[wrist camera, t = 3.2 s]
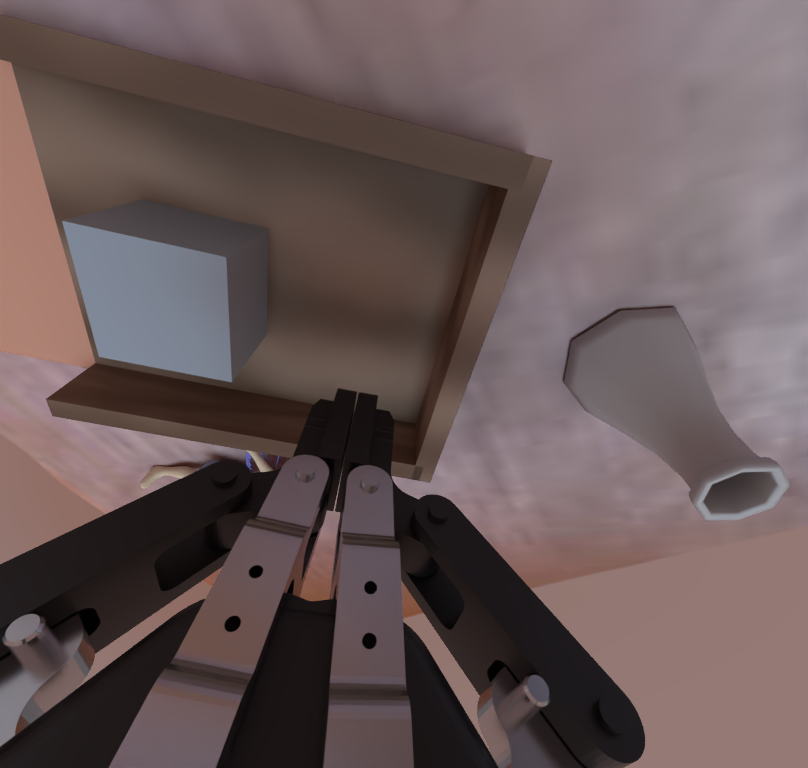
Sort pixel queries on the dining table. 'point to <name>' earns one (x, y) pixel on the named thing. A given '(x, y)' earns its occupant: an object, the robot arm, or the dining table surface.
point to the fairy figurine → (185, 471)
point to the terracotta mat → (32, 250)
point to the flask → (670, 410)
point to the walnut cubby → (284, 239)
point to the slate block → (172, 286)
